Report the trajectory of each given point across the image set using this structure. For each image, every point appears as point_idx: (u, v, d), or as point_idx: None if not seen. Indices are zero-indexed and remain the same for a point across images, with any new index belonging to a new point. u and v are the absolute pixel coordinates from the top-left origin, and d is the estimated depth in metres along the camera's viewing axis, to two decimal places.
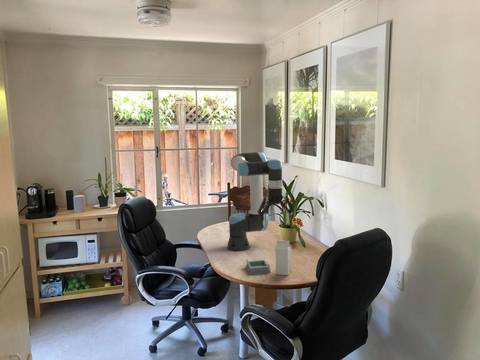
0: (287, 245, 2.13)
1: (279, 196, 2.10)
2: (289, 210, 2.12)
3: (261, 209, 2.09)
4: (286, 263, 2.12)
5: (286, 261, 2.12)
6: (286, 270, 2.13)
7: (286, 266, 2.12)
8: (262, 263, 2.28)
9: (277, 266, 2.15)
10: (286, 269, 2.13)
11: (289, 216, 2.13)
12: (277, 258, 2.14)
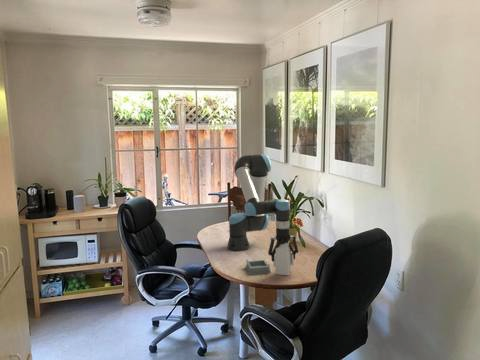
0: (287, 245, 2.13)
1: (287, 235, 2.14)
2: (294, 251, 2.16)
3: (271, 250, 2.13)
4: (286, 263, 2.12)
5: (286, 261, 2.12)
6: (286, 270, 2.13)
7: (286, 266, 2.12)
8: (262, 263, 2.28)
9: (277, 266, 2.14)
10: (286, 269, 2.13)
11: (294, 257, 2.17)
12: (277, 258, 2.14)
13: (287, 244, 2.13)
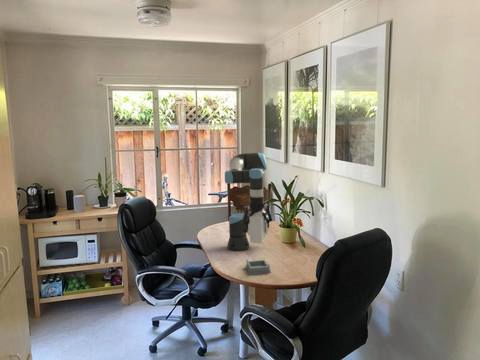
0: (261, 213, 2.15)
1: (261, 204, 2.16)
2: (268, 220, 2.19)
3: (245, 218, 2.16)
4: (260, 231, 2.15)
5: (260, 229, 2.15)
6: (260, 238, 2.16)
7: (260, 234, 2.15)
8: (262, 263, 2.28)
9: (251, 234, 2.17)
10: (260, 237, 2.16)
11: (268, 226, 2.20)
12: (251, 226, 2.17)
13: (261, 212, 2.16)
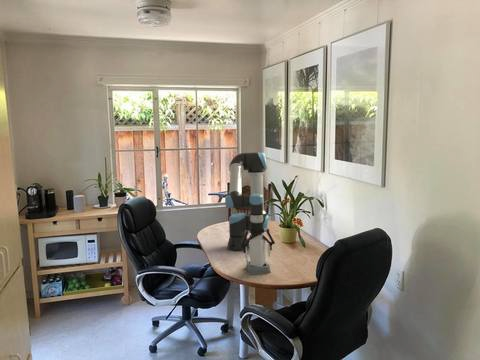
0: (261, 237, 2.18)
1: (260, 230, 2.19)
2: (270, 243, 2.21)
3: (243, 242, 2.18)
4: (260, 254, 2.17)
5: (260, 252, 2.17)
6: (260, 261, 2.18)
7: (260, 257, 2.17)
8: None
9: (251, 257, 2.19)
10: (260, 260, 2.18)
11: (270, 248, 2.22)
12: (251, 249, 2.19)
13: (261, 236, 2.18)
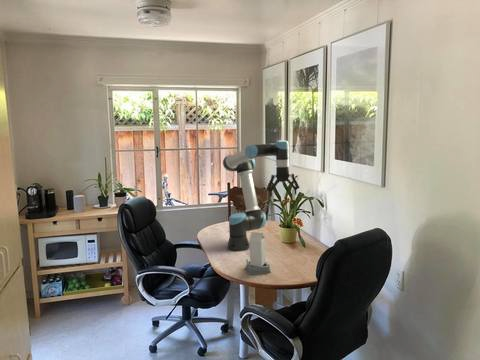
0: (261, 237, 2.18)
1: (286, 174, 2.31)
2: (295, 187, 2.33)
3: (270, 186, 2.30)
4: (260, 254, 2.17)
5: (260, 252, 2.17)
6: (260, 261, 2.18)
7: (260, 257, 2.17)
8: None
9: (251, 257, 2.19)
10: (260, 260, 2.18)
11: (295, 193, 2.34)
12: (251, 249, 2.19)
13: (261, 236, 2.18)
